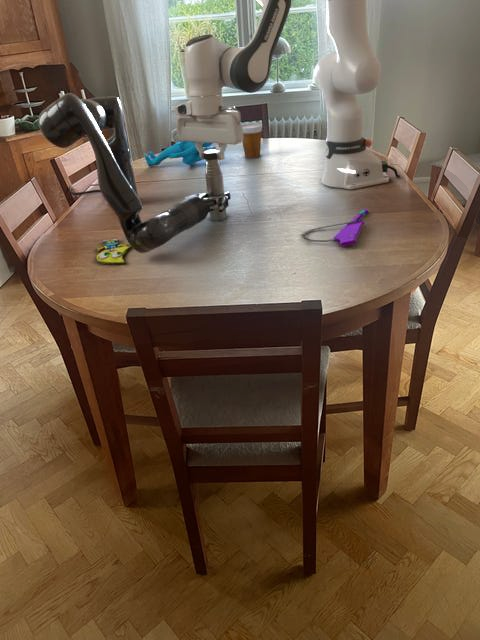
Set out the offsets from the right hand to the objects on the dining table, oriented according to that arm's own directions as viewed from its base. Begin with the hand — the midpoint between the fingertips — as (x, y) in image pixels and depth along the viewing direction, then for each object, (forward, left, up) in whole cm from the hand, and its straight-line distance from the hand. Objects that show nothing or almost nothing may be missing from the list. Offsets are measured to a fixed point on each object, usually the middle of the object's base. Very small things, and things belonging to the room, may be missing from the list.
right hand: (212, 158), depth 136 cm
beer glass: (-22, -66, -18) cm, 72 cm away
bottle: (0, 0, -18) cm, 18 cm away
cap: (0, 0, +2) cm, 2 cm away
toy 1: (+31, +16, -18) cm, 39 cm away
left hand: (-2, -2, -11) cm, 11 cm away
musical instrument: (-30, +21, -18) cm, 41 cm away
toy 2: (+8, -66, -18) cm, 68 cm away
